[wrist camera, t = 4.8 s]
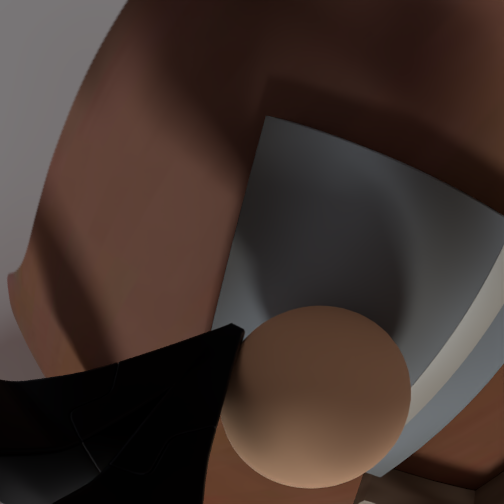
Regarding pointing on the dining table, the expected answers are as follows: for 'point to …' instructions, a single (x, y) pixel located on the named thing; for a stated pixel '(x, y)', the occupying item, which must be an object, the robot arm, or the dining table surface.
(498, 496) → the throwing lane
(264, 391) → the ball
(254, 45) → the dining table surface
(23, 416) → the robot arm
